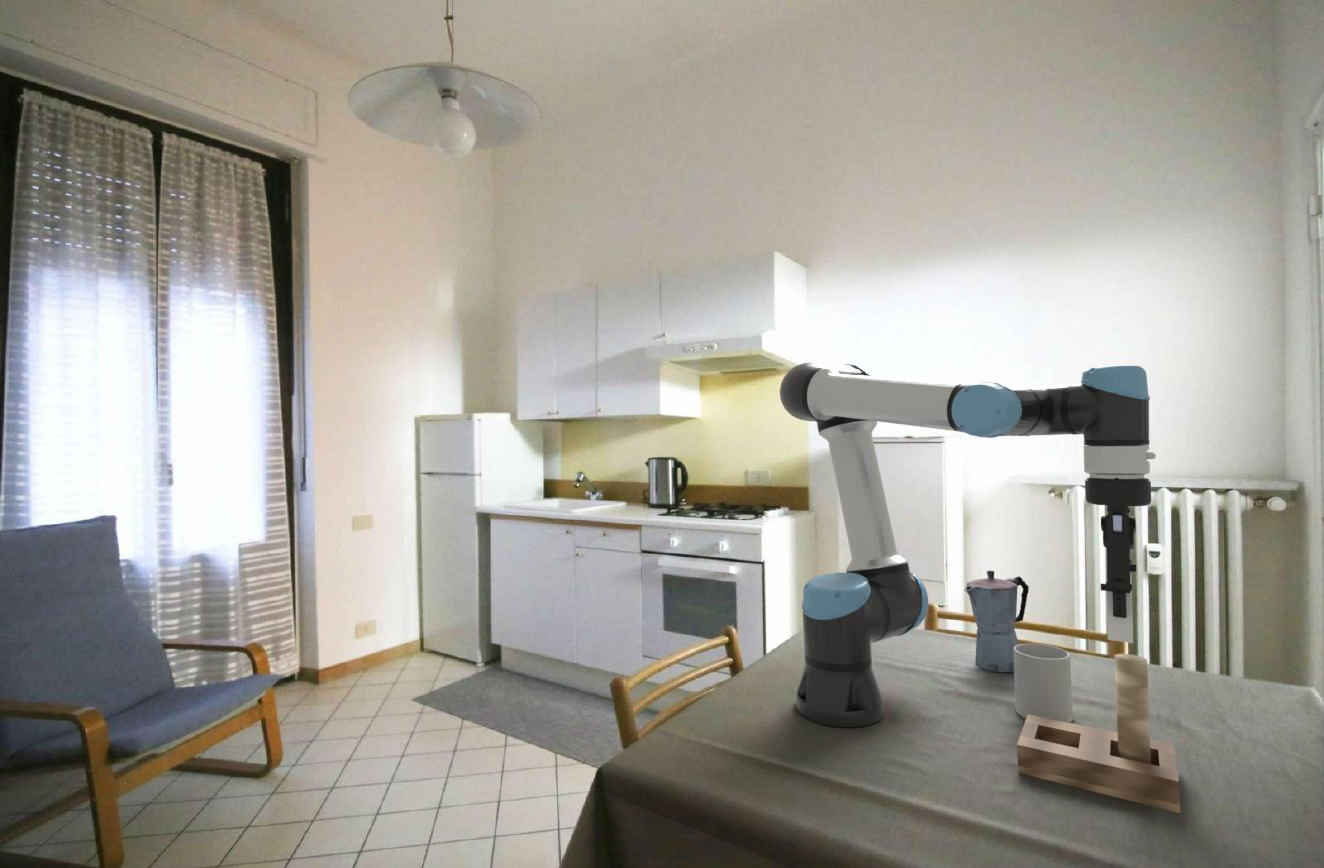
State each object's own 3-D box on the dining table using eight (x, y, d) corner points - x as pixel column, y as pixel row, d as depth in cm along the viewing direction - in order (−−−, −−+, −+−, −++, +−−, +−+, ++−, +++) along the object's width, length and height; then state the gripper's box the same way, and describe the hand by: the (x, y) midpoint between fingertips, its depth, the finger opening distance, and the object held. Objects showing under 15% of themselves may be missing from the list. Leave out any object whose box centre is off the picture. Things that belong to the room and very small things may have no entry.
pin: (1118, 776, 87) (1114, 659, 87) (1119, 765, 90) (1114, 652, 90) (1151, 784, 85) (1147, 664, 85) (1151, 772, 88) (1146, 656, 88)
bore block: (1018, 772, 90) (1017, 744, 90) (1028, 739, 100) (1027, 714, 100) (1180, 813, 80) (1179, 781, 80) (1174, 772, 89) (1173, 743, 89)
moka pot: (953, 662, 135) (949, 569, 135) (1009, 653, 140) (1006, 563, 140) (988, 678, 126) (984, 577, 126) (1047, 668, 130) (1044, 571, 131)
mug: (1084, 725, 104) (1082, 658, 105) (1032, 726, 105) (1030, 660, 105) (1042, 696, 116) (1040, 636, 117) (995, 697, 117) (993, 637, 117)
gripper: (1153, 483, 76) (1158, 658, 76) (1148, 471, 96) (1152, 610, 96) (1079, 481, 81) (1083, 647, 81) (1089, 471, 101) (1092, 604, 101)
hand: (1120, 628), depth 88 cm, fingers open, 13 cm apart
